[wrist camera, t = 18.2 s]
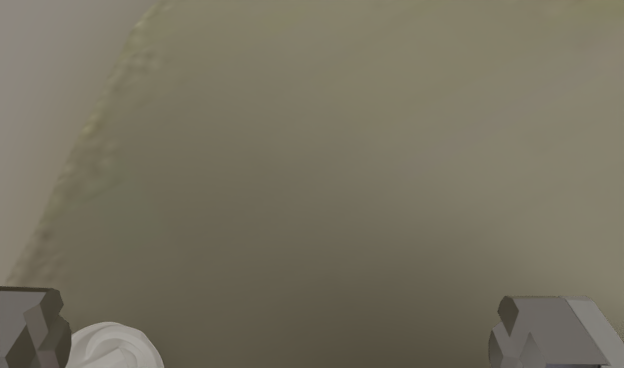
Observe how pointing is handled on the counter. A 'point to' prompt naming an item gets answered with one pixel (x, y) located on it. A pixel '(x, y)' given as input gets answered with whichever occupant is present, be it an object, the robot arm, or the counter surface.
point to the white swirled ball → (112, 348)
